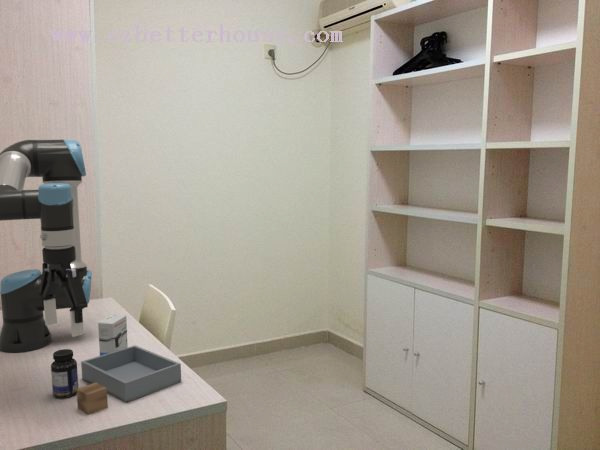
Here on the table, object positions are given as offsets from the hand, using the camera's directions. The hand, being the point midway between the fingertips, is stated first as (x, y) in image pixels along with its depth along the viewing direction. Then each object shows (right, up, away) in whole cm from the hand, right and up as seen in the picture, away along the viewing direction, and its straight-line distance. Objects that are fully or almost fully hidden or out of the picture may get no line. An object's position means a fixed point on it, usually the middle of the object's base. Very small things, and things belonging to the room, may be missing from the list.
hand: (64, 329), depth 142 cm
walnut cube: (+9, -18, -6) cm, 21 cm away
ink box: (+4, -13, +28) cm, 31 cm away
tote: (+14, -16, +10) cm, 23 cm away
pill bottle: (0, -17, +2) cm, 17 cm away
